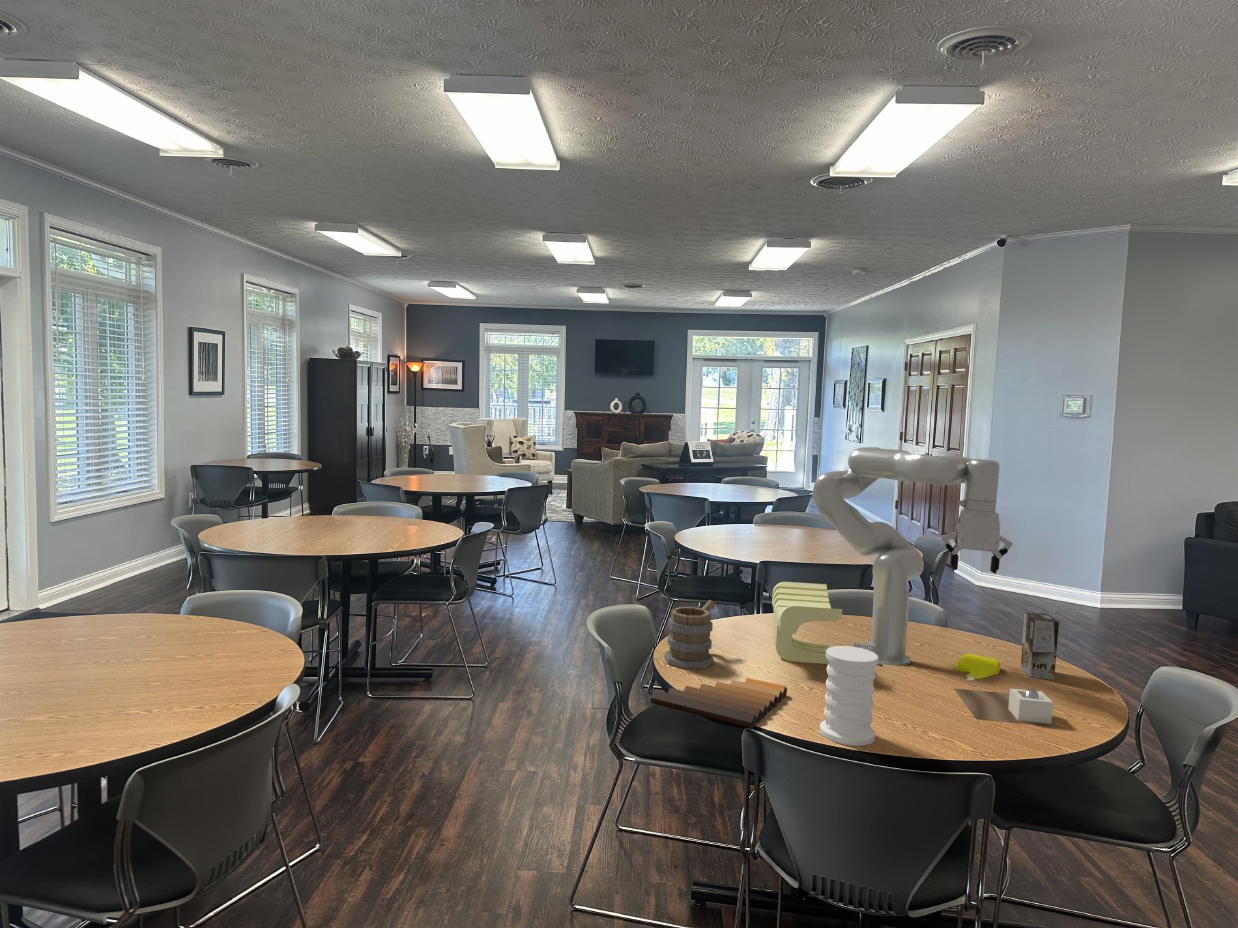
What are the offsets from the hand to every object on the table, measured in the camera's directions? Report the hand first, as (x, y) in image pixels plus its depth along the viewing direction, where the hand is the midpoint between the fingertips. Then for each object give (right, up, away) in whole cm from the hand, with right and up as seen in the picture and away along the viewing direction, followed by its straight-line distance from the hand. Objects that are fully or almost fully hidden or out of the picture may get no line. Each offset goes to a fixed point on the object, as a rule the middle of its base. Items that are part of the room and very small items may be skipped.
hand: (973, 570), depth 206 cm
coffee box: (+23, -30, +11) cm, 39 cm away
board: (-2, -31, -19) cm, 37 cm away
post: (+1, -30, -25) cm, 39 cm away
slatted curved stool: (-41, -27, +19) cm, 53 cm away
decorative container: (-44, -31, -36) cm, 65 cm away
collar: (+1, -30, -25) cm, 39 cm away
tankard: (-72, -26, +12) cm, 78 cm away
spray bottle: (+3, -30, +7) cm, 31 cm away
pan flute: (-69, -29, -18) cm, 77 cm away
